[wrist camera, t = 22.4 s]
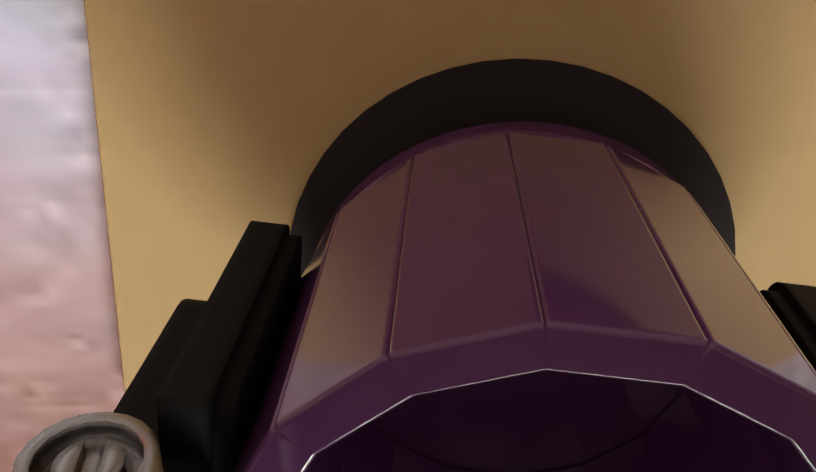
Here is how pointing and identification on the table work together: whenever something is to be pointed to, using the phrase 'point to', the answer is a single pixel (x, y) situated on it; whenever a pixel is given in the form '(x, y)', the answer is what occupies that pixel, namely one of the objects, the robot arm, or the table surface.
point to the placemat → (430, 116)
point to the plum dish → (529, 324)
